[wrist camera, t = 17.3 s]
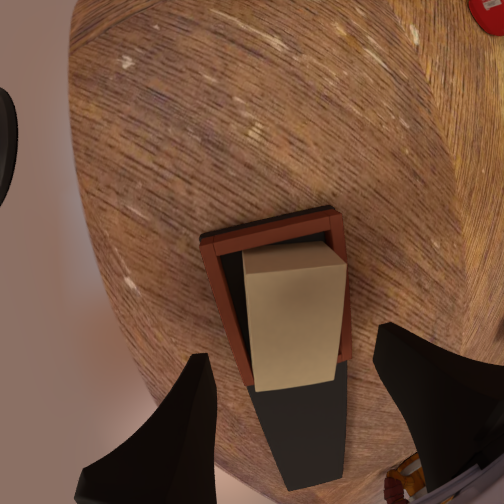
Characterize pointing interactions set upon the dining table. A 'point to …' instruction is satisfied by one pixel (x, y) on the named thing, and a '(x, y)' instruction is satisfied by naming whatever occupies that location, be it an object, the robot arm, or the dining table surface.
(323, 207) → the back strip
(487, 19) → the beverage can
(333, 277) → the foam pad
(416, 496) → the mug
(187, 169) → the dining table surface
